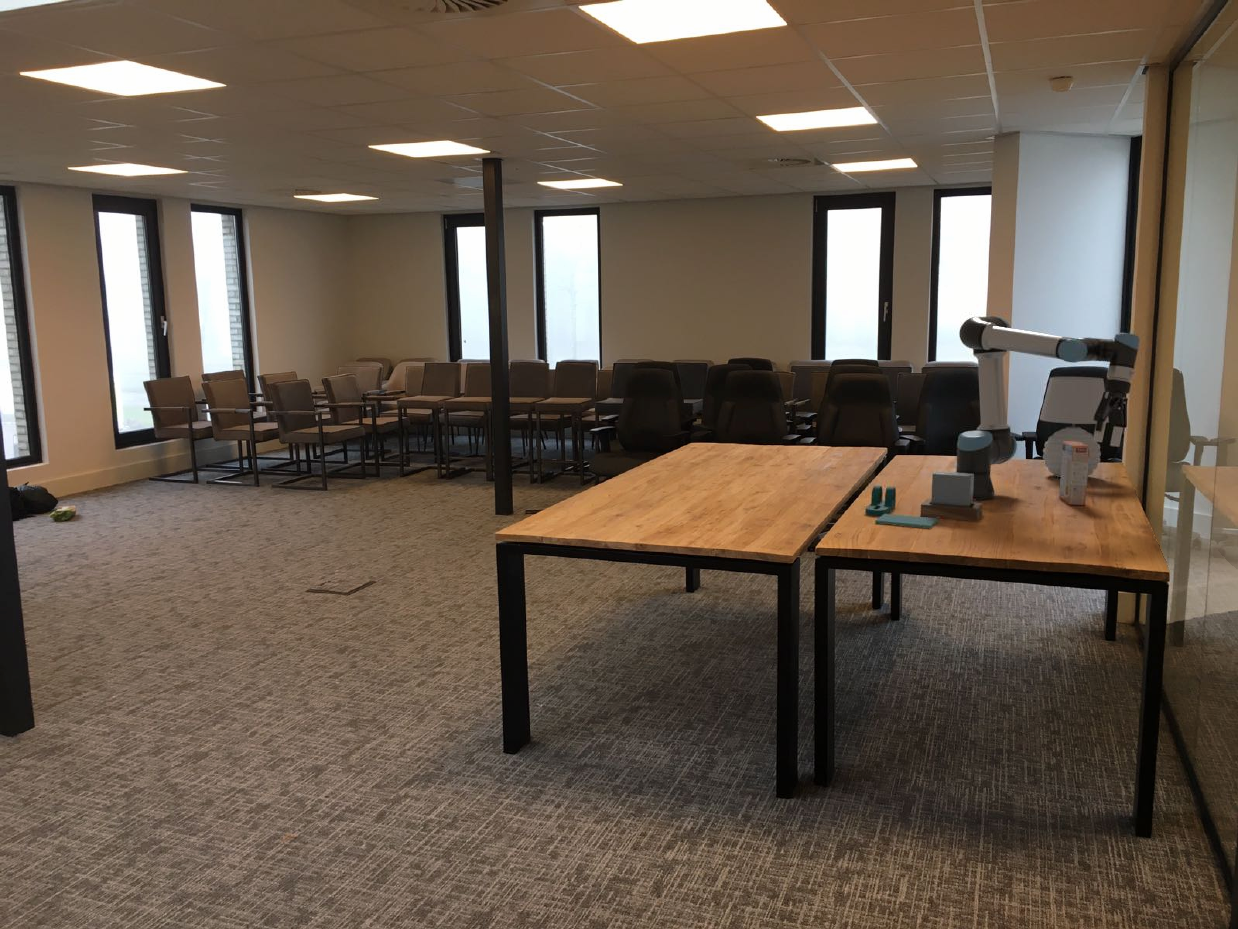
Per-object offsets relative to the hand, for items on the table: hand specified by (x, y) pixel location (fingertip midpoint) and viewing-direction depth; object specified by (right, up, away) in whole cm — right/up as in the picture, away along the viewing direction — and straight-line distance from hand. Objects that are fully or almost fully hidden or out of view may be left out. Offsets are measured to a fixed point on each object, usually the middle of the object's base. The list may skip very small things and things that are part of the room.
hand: (1106, 444), depth 329 cm
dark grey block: (-52, -24, -3) cm, 57 cm away
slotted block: (-52, -24, -3) cm, 57 cm away
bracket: (-74, -23, +5) cm, 77 cm away
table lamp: (+21, -12, +74) cm, 78 cm away
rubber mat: (-70, -25, -13) cm, 75 cm away
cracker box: (-2, -20, +20) cm, 29 cm away
